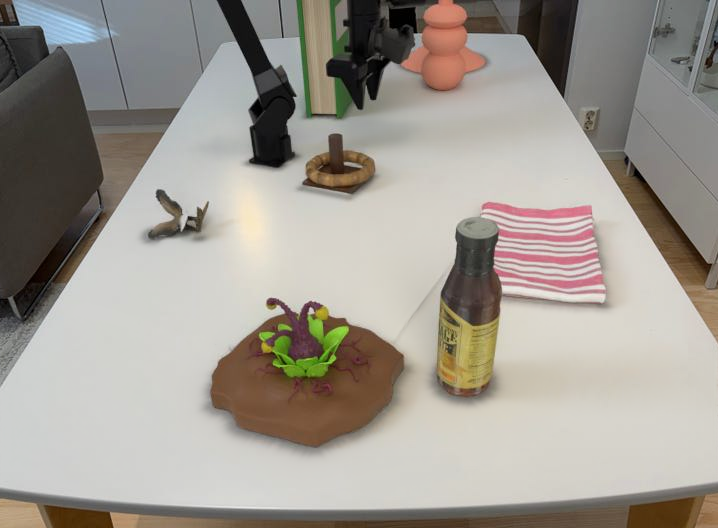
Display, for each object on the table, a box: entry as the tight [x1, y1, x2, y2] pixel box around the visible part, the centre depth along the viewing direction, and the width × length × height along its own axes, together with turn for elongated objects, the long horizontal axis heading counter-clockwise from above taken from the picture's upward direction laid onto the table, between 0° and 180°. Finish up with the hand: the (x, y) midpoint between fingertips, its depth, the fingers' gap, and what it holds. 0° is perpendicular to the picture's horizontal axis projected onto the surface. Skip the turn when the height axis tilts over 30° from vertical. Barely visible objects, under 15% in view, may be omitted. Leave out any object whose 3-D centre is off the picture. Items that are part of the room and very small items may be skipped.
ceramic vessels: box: [400, 0, 486, 91], centre depth 161 cm, size 35×21×19 cm, turn 175°
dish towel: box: [479, 201, 607, 305], centre depth 97 cm, size 17×23×4 cm
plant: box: [209, 297, 405, 447], centre depth 75 cm, size 20×20×11 cm
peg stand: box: [301, 133, 374, 195], centre depth 117 cm, size 9×9×8 cm
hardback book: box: [295, 0, 353, 119], centre depth 143 cm, size 18×7×24 cm, turn 170°
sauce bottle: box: [436, 216, 503, 397], centre depth 71 cm, size 6×6×20 cm
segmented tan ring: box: [305, 149, 377, 187], centre depth 119 cm, size 12×12×2 cm
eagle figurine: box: [147, 188, 210, 239], centre depth 105 cm, size 8×7×9 cm
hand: (367, 104), depth 126 cm, fingers open, 5 cm apart
